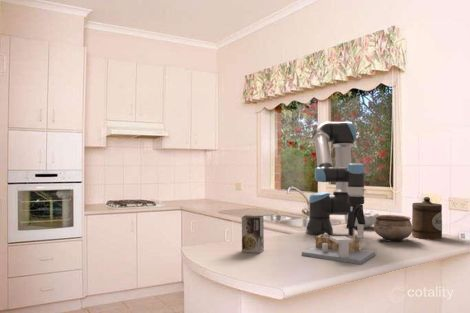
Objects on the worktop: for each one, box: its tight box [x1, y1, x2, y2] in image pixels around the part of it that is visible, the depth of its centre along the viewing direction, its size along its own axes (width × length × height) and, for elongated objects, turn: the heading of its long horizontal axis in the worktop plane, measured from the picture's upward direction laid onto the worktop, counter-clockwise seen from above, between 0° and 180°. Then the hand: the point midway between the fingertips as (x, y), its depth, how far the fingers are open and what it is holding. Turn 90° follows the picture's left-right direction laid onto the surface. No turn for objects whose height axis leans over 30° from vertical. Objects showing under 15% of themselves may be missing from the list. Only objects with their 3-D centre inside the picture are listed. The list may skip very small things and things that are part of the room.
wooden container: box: [411, 196, 443, 240], centre depth 214 cm, size 15×15×22 cm
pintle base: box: [301, 233, 376, 265], centre depth 171 cm, size 26×21×9 cm
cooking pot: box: [373, 214, 413, 243], centre depth 204 cm, size 25×19×12 cm
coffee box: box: [241, 214, 265, 254], centre depth 179 cm, size 9×6×16 cm
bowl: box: [344, 210, 380, 229], centre depth 244 cm, size 21×20×10 cm
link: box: [315, 234, 361, 252], centre depth 177 cm, size 18×7×5 cm, turn 55°
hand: (356, 240), depth 186 cm, fingers open, 13 cm apart
